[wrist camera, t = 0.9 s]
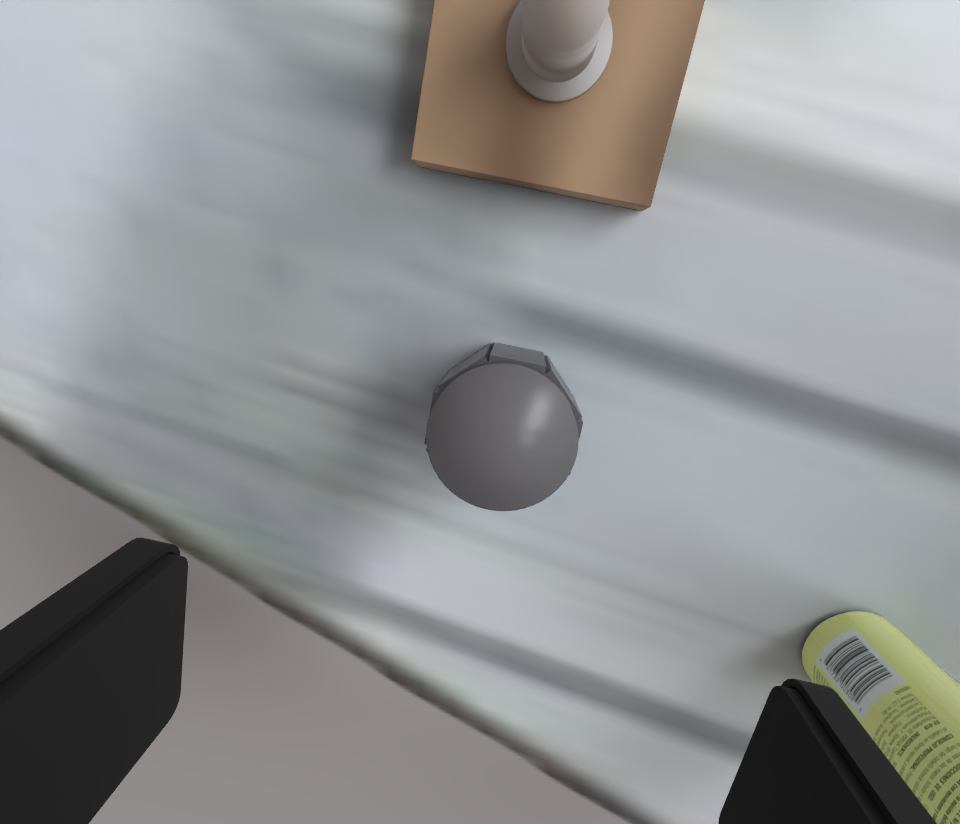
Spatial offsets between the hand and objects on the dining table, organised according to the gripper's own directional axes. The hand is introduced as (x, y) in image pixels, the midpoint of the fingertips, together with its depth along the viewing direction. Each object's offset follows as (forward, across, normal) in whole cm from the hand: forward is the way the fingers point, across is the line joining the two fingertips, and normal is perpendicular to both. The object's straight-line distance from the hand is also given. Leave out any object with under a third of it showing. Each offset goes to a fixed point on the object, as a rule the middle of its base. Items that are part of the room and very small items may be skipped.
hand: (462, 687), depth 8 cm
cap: (+18, 0, 0) cm, 18 cm away
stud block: (+18, +1, -15) cm, 23 cm away
